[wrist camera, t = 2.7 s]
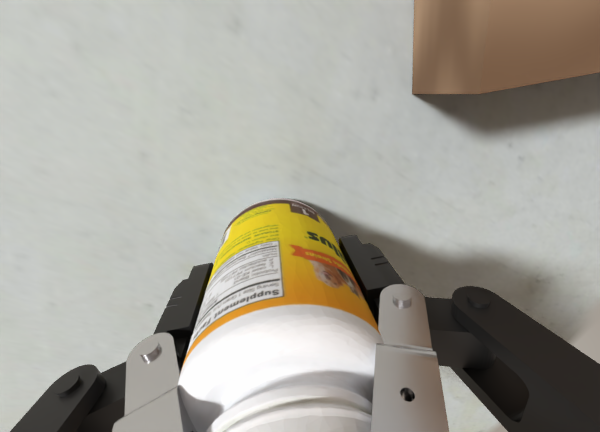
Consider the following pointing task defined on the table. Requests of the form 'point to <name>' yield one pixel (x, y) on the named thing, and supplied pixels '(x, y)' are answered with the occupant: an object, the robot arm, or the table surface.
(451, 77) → the walnut plinth
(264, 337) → the supplement bottle
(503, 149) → the table surface
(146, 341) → the robot arm
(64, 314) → the table surface
